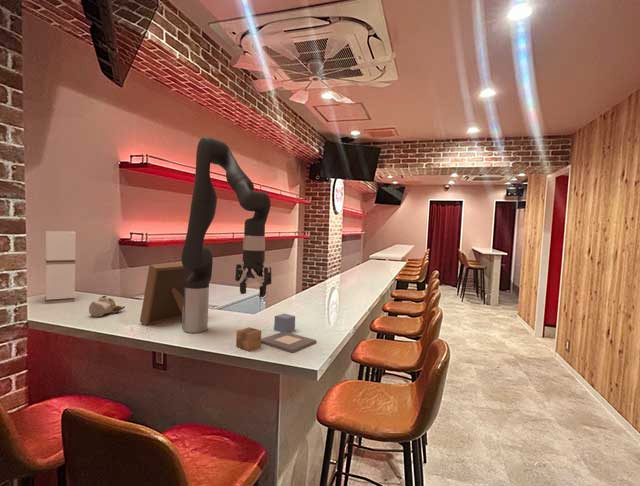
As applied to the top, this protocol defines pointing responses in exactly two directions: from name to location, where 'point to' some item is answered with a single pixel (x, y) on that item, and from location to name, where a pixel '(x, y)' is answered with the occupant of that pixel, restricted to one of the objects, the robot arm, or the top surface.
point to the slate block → (284, 323)
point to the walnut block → (248, 339)
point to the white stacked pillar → (60, 267)
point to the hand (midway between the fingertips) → (252, 295)
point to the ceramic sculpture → (103, 307)
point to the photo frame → (164, 293)
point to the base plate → (288, 341)
